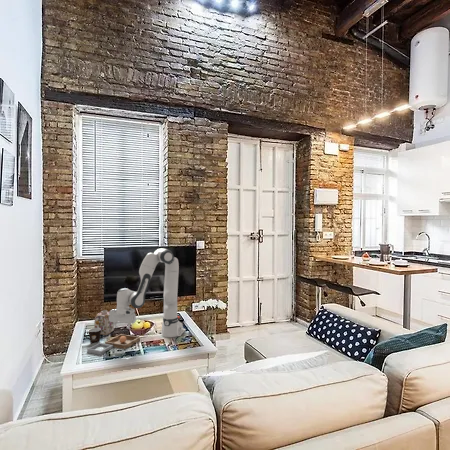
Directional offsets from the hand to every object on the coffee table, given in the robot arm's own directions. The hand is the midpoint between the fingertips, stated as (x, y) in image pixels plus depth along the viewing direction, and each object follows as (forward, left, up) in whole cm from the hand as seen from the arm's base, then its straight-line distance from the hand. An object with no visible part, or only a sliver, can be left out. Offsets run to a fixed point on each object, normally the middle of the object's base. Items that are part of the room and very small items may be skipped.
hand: (122, 328), depth 245 cm
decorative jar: (-15, -31, -12) cm, 36 cm away
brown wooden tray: (0, 0, -12) cm, 12 cm away
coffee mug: (+6, -23, -12) cm, 26 cm away
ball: (0, 0, -11) cm, 11 cm away
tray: (+16, -7, -12) cm, 21 cm away
